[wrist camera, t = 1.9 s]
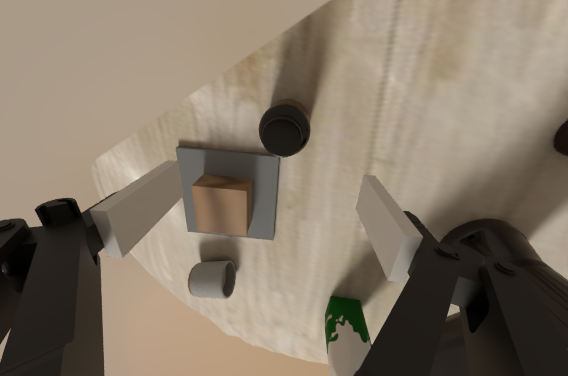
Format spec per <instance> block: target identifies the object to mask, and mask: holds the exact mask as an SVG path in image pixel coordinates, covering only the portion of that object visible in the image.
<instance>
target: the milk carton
mask: <svg viewBox="0 0 568 376" xmlns="http://www.w3.org/2000/svg"><path fill="white" fill-rule="evenodd" d="M325 334H326V344H327V354H328V364H329V372H330V373H329V374H330V376H353V375H354V374H355V372H356V371H357V370H358V369H359V368H360V366H361V364H362V363H363V361H364V359H365V357H366V355H367V354H368V352H369V350H370V348H371V346H372V344H371V341H370V337H369V333H368V330H367V326H366V322H365V318H364V314H363V311H362V307H361V303H360V300H353V299H346V298H338V297H331V298H330V301H329V304H328V307H327V310H326V314H325Z"/></svg>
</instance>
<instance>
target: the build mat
mask: <svg viewBox="0 0 568 376" xmlns="http://www.w3.org/2000/svg"><path fill="white" fill-rule="evenodd" d="M176 152H177V159H178V162H179V168H180V174H181V181H182V187H183V193H184V196H183V201H184V208H185V215H186V222H187V229H188V232H198V233H207V234H217V235H227V236H237V237H246V238H256V239H266V240H273V238H274V226H275V211H276V197H277V182H278V168H279V157H276V156H274V155H268V154H257V153H247V152H236V151H225V150H214V149H203V148H193V147H182V146H178V147H176ZM203 174H208V175H218V176H229V177H239V178H250V179H253V182H252V221H251V224H250V227H249V230H248V233H247V236H243V235H233V234H223V233H214V232H204V231H197V227H196V219H195V211H194V202H193V194H192V185H193V184H194V183H195V182H196V181H197V180H198V179H199V178H200V177H201V176H202V175H203Z"/></svg>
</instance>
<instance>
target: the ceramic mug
mask: <svg viewBox="0 0 568 376" xmlns="http://www.w3.org/2000/svg"><path fill="white" fill-rule="evenodd" d="M235 279H236V271H235V266H234V264H233V262H232V261H213V262H201V263H198V264H196V265H195V266H194V267H193V268H192V270H191V272H190V274H189V278H188V288H189V291H190V293H191V294H192V295H193V296H196V297H200V298H220V299H227V298H229V297H230V296H231V294H232V292H233V290H234V286H235Z"/></svg>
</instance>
